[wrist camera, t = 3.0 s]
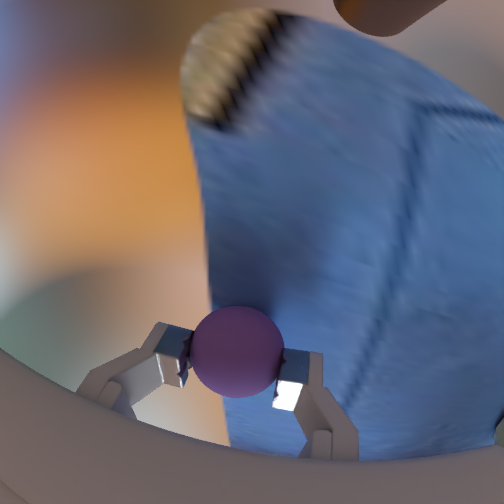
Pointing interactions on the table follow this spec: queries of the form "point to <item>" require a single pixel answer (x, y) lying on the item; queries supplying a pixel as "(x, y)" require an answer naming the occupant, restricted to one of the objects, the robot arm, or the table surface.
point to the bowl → (499, 434)
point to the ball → (236, 351)
